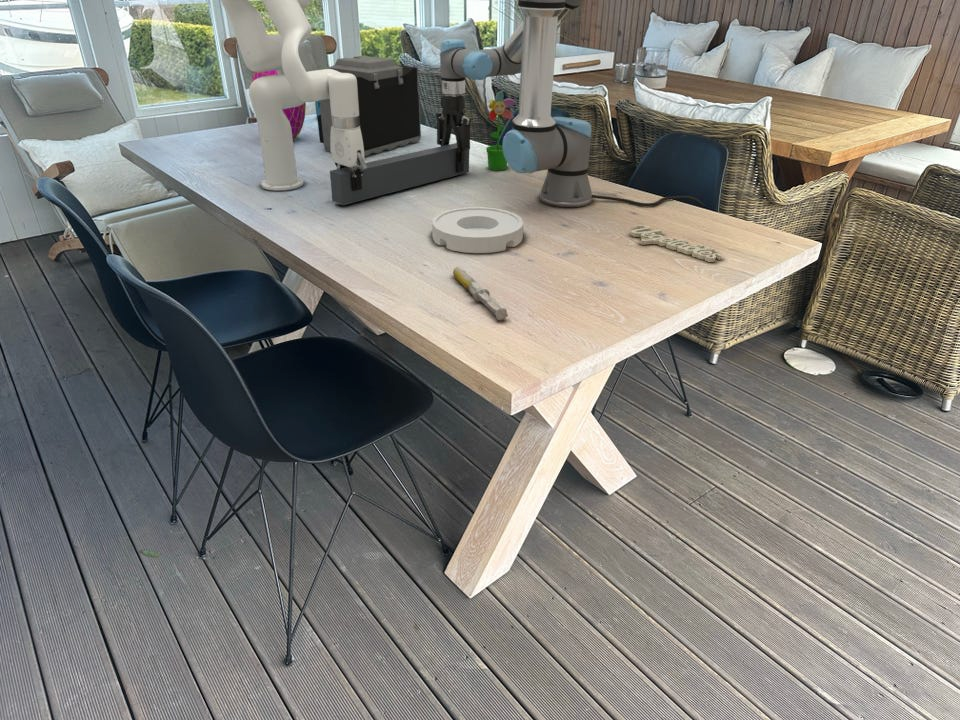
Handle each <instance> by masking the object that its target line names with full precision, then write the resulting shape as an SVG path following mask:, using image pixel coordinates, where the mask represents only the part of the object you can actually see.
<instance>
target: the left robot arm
mask: <svg viewBox="0 0 960 720" xmlns="http://www.w3.org/2000/svg"><path fill="white" fill-rule="evenodd" d="M220 2H221V4H222V6H223V8H224V10H225V12H226V14H227V17H228V19H229V21H230V23H231V26H232V29H233V32H234V37H235V38H236V41H237V44H238V48H239V51H240V54H241V56H242V60H243V62H244V64H245V66H246V67H247V69H248V70H249V71H251V72H264V71H272V70H277V72H278V75H271V76H264V77H260V78H258V79H256V80H254V81H253V82H252V81H251V84H250V85H249V87H248V89H249V90H248V94H249V95H248V96H249V99H250V102H251V105H252V108H253V111H254V114H255V119H256V123H257V129H258V135H259V143H260V149H261V156H262V164H263V173H264V176H265V179H263V180H262V181H261V183H260V184H261V188H262V189H264V190H267V191H276V192H279V191H280V192H281V191H291V190H295V189H298V188H301V187H302V186H303V185H304V180H303V178H301V177H299V176H298V171H297V161H296V154H295V145H294V138H293V137H292V130H291V125H290V122H289V120H288V119H287V117H286V116H285V114H284V113H283V110H284V109H287V108H292V107H297V106H300V105H302V104H304V103H305V102H306V103H315V101H319V100H325V99H330V107H331V118H332V126H331V134H330V148H331V151H330V159H331V161H332V162H333V163H334V165H335V166H336V167H335V168H336V169H340V168H345V167H350V168H351V172H352V176H353V177H351V184H352V191H357V190H361V189H362V179H361V176H362V175H363V174H362V173H363V172H364V170H365V169H366V168H367V165H366V163H367V162H365V157H364V146H363V140H362V134H361V130H360V118H359V104H358V89H357V79H356V77H355V76H354V75H353V74H350V73H341V72H338V71H336V70H333V69H329V68H325V69H316V70H310V71H309V70H308V71H306V69H305V67H304V64H303V63H302V60H301V57H300V55H299V54H300V53H299V47H300V46H301V44H303V43H304V42H306V41H307V39H308V38H309V37H310V36H311V34H312V26H311V24H310V22H309V20H308V18H307V16H306V14H305V12H304V9H306V8H308V7H309V6H310V4H311V2H312V0H261V2H262V4H263V5H264V7H265V9H266V11H267V13H268V15H269V17H270V19H271V21H272V23H273V25H274V27H275V29H276V30H277V33H270V34H269V33H268V32H267V30H266V27H265V24H264V20H263V18H262V15H261V14H260V12H259V11H258V9H257V8H256V7H255V5H253V3H251V2H250V1H249V0H220ZM355 167H357V170H356V171H355Z"/></svg>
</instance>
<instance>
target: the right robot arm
mask: <svg viewBox="0 0 960 720" xmlns="http://www.w3.org/2000/svg"><path fill="white" fill-rule="evenodd" d="M584 1H585V0H517V8H518V9H519V10H520V12H521V13H522V15H523V20H522V22H521V23H520V24H519V26H518V27H517V28H516V29H515V30H514V31H513V33H512V34H511V35H510V37H509V38H508V39H507V40H506V41H505V42H504V43H503V45H502V46H501V47H498V48H497V47H496V48H486V49H467V48H466V42H465V40H463V39H459V38H458V39H457V38H448V39H443V40H441V41H440V48H439V49H440V52H439V65H440V66H439V67H440V69H439V70H440V93H441V95H440V107H441V108H442V111H440V112H435V118H436V145H438V146H439V147H440V146H445V145H449V144H450V142H451V136H452V131H453V130H454V135H455V143H457V147H458V151H457V152H456V172H457V173H458V172H462V171H464V161H465V151H466V150H469V151H470V150H471V123H472V118H471V117H467V116H466V115H465V111H464V109H465V107H466V95H465V94H466V78H467V79H470V80H473V81H476V80H477V81H483V80H486V79H487V78H490V77H491V78H492V77H499V76H500V77H501V76H515V75H517V74H520V79H519V98H518V99H519V100H518V113H517V115H516V116H515V117H514V118H512V123H511V124H512V125H511V126H512V127H511V128H512V129H510V130H509V131H507V132H506V133H505V135H504V136H503V138H502V143H501V144H502V145H501V146H502V147H503V154H504V157H505V159H506V161H507V166H508V167H509V168H510V169H511V170H512V171H514V172H515V173H517V174H534V173H536V172H542V171H546V170H547V173H546V176H545V178H544V181H543V184H542V187H541V189H540V192H539V200H540V202H542V203H543V204H546V205H549V206H553V207H558V208H559V207H560V208H580V207H584V206H588V205H589V204H591V203H592V199H598V200H599V199H601V200H608V201H617V202H623V203H628V204H632V205H636V206H640V207H655V206H657V205H659V204H661V203H662V202H664V201H669V200H691V201H693V202H695V203H697V204H698V205H699V206H700V207H703V206H704V204H703V202H702V201H701V200H700V199H698V198H697V197H694V196H690V195H675V196H673V195H672V196H664V197H662V198H660V199H658V200H657V201H654V202H640V201H635V200H631V199H628V198H627V199H626V198H623V197H622V198H621V197H616V196H615V197H614V196H607V195H598V194H593V193H592V188H591V184H590V179H589V165H590V153H591V144H592V138H593V136H592V125H591V124H590V123H589V122H588V121H586V120H583V119H579V118H574V117H573V118H571V117H566V116H552V102H553V101H552V99H553V89H554V88H553V87H554V75H555V63H556V62H555V61H556V60H555V59H556V49H557V48H556V47H557V33H558V24H559V23H560V22H561V21H562V20H563V19H564V18H565V17H566V16H567V14H568V13H569V12H570V11H574V10H576V9H578V8H579V7H580V5H581V6H582V4H583V3H584ZM461 147H462V148H461Z"/></svg>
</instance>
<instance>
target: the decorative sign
mask: <svg viewBox="0 0 960 720" xmlns="http://www.w3.org/2000/svg"><path fill="white" fill-rule="evenodd" d="M650 229H651V227H650V226H648V225H644V224H637V225H636V229H632V230H631V231H630V236H631V237H634V238H640V245H643V246H644V245H646V246H647V245H658V246H660V247H666V248H667V249H669V250H671V251H677V252H678V253H682V254H685V255H691V256H692V257H693V258H697V259H699V260H704V261H705V262H709V263H714V262H716V260H719V261H720V260H721V259H722V254H721V253H718V252H715V250H716V249H715V248H714V247H705V245H706V244H700V243H699V244H690V243H689V241H688V240H686V239H682V238H681V239H680V238H677V237H673V238H671V237H667V236H663V235H662V234H663V230H662V229H652V230H650Z"/></svg>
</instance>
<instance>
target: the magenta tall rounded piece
mask: <svg viewBox="0 0 960 720" xmlns="http://www.w3.org/2000/svg"><path fill="white" fill-rule="evenodd" d="M252 72H253V73H252V77H251V83H252V82H253V81H254V80H256V79H258V78H260V77H264V76H271V75H278V72H277V70H272V71H264V72H254V71H252ZM306 104H307V102H305V103H304V104H302V105H300V106H297V107H292V108H287V109H284V110H283V113H284V114H285V116H286V117H287V119H288V120H289V122H290V125H291V130H292V137H293V139H296V138H297V137H298V136H299V134H301V131H302V129H303V127H304V123H305V118H306Z"/></svg>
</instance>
